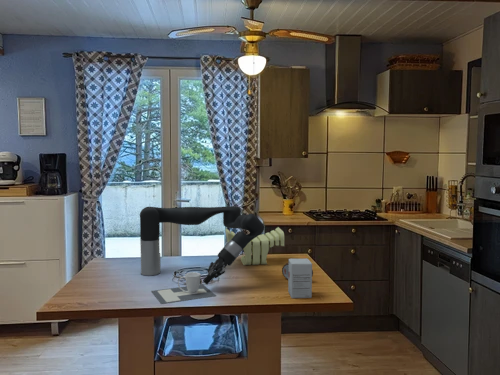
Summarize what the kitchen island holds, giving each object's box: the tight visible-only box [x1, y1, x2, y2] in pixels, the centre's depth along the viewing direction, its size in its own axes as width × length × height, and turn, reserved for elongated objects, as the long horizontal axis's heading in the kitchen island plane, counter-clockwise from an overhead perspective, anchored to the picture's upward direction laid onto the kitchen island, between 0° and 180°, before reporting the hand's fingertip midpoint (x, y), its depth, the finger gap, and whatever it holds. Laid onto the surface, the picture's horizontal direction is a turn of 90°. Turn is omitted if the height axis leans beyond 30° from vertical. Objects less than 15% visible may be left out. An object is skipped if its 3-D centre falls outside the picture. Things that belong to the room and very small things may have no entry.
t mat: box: [150, 283, 217, 305], centre depth 201 cm, size 24×18×1 cm
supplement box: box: [287, 258, 313, 299], centre depth 199 cm, size 9×9×15 cm
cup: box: [177, 271, 202, 294], centre depth 202 cm, size 7×10×8 cm
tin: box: [281, 261, 314, 280], centre depth 221 cm, size 15×3×8 cm, turn 65°
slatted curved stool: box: [225, 226, 285, 266], centre depth 253 cm, size 30×16×18 cm, turn 98°
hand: (204, 282), depth 204 cm, fingers closed
